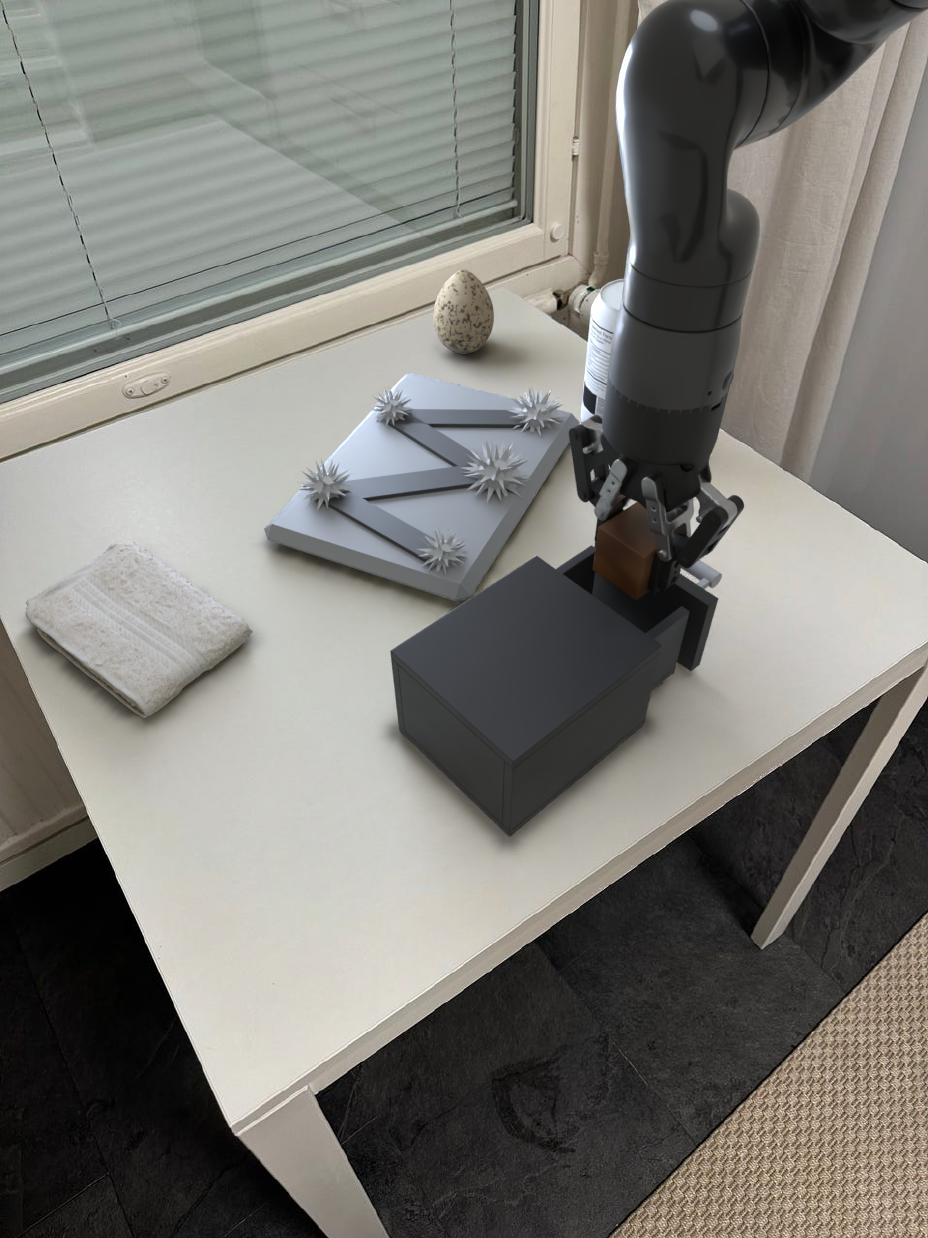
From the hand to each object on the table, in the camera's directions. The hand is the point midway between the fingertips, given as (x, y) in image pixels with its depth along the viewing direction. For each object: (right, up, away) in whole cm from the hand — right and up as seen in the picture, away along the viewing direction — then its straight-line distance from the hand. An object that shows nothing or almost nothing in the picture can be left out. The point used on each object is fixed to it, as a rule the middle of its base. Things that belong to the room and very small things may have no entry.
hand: (634, 568), depth 68 cm
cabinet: (-8, -12, +2) cm, 15 cm away
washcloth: (-41, -5, +10) cm, 43 cm away
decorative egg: (-13, +29, +41) cm, 51 cm away
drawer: (-1, -7, +6) cm, 9 cm away
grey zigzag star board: (-16, +10, +23) cm, 30 cm away
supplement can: (+4, +17, +30) cm, 35 cm away
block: (0, 0, 0) cm, 0 cm away
